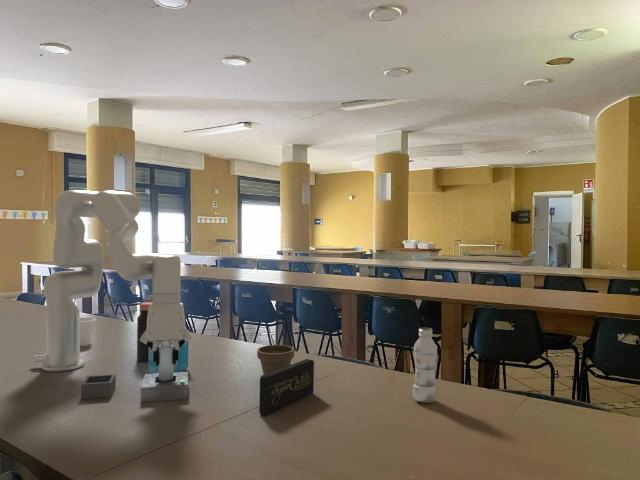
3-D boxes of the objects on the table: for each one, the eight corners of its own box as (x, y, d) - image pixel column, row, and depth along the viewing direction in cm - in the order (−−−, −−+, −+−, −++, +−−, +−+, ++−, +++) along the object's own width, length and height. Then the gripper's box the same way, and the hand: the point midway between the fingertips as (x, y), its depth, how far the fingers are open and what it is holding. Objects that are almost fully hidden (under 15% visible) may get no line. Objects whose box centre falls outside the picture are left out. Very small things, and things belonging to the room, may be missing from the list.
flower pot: (248, 380, 145) (249, 348, 145) (276, 373, 154) (276, 342, 153) (273, 390, 138) (274, 355, 137) (301, 381, 146) (302, 348, 146)
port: (140, 402, 126) (140, 385, 126) (144, 387, 138) (145, 372, 137) (187, 399, 129) (187, 382, 129) (187, 384, 141) (187, 369, 141)
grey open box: (80, 399, 128) (80, 384, 128) (86, 389, 135) (86, 375, 135) (111, 396, 130) (111, 382, 130) (115, 387, 137) (115, 374, 137)
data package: (156, 378, 146) (156, 339, 146) (148, 375, 149) (148, 337, 149) (188, 369, 156) (188, 333, 156) (180, 367, 159) (180, 331, 158)
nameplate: (265, 417, 118) (265, 377, 118) (259, 415, 119) (259, 376, 119) (313, 394, 135) (314, 359, 135) (308, 392, 136) (308, 358, 136)
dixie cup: (99, 343, 188) (100, 318, 188) (79, 348, 181) (79, 322, 181) (87, 340, 193) (87, 316, 193) (67, 344, 186) (67, 319, 186)
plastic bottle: (437, 398, 132) (438, 327, 132) (434, 407, 126) (436, 332, 126) (414, 395, 135) (415, 325, 134) (410, 403, 128) (412, 330, 128)
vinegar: (160, 357, 170) (161, 302, 169) (152, 362, 163) (152, 305, 163) (142, 356, 171) (142, 301, 170) (133, 361, 164) (133, 304, 163)
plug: (157, 380, 131) (158, 337, 130) (158, 376, 134) (159, 334, 134) (173, 379, 132) (173, 337, 131) (173, 375, 136) (173, 334, 135)
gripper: (133, 301, 127) (132, 369, 127) (197, 300, 131) (196, 365, 132) (136, 297, 134) (135, 361, 134) (197, 296, 139) (196, 358, 139)
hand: (166, 363), depth 133 cm, fingers closed on plug, 4 cm apart
